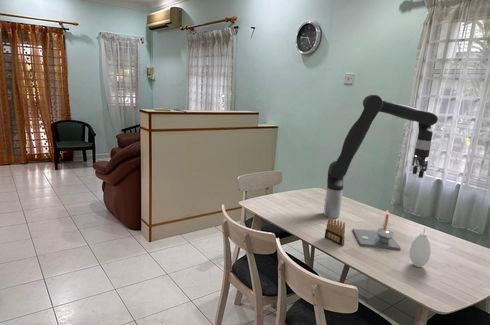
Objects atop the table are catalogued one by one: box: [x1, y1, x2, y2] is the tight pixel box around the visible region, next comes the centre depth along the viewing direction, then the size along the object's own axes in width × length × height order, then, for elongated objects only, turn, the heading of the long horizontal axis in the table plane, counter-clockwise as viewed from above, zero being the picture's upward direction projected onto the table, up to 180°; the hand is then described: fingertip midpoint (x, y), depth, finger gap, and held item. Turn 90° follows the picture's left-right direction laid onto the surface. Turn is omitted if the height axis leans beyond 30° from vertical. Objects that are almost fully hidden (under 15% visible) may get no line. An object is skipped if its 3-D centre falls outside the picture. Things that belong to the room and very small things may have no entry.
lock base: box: [352, 228, 402, 251], centre depth 168 cm, size 19×18×4 cm
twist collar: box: [377, 210, 394, 239], centre depth 166 cm, size 16×7×10 cm, turn 159°
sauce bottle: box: [409, 228, 432, 268], centre depth 143 cm, size 8×8×18 cm
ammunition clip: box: [323, 216, 346, 247], centre depth 162 cm, size 11×2×12 cm, turn 37°
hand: (417, 175), depth 187 cm, fingers open, 8 cm apart
